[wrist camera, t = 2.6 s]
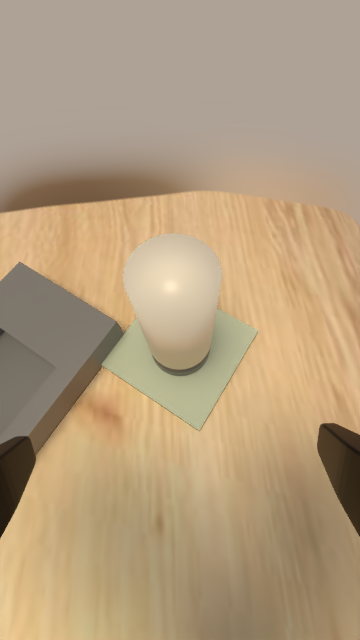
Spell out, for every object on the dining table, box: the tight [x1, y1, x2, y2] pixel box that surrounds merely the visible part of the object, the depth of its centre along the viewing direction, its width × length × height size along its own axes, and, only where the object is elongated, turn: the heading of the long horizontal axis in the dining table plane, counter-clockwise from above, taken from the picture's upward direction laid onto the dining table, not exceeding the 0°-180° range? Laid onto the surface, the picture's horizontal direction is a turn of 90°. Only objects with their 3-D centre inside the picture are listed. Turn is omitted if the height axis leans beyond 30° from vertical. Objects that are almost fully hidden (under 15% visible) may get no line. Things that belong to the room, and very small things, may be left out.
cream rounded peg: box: [123, 233, 222, 376], centre depth 19 cm, size 5×5×11 cm
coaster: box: [101, 308, 258, 431], centre depth 25 cm, size 9×9×1 cm
